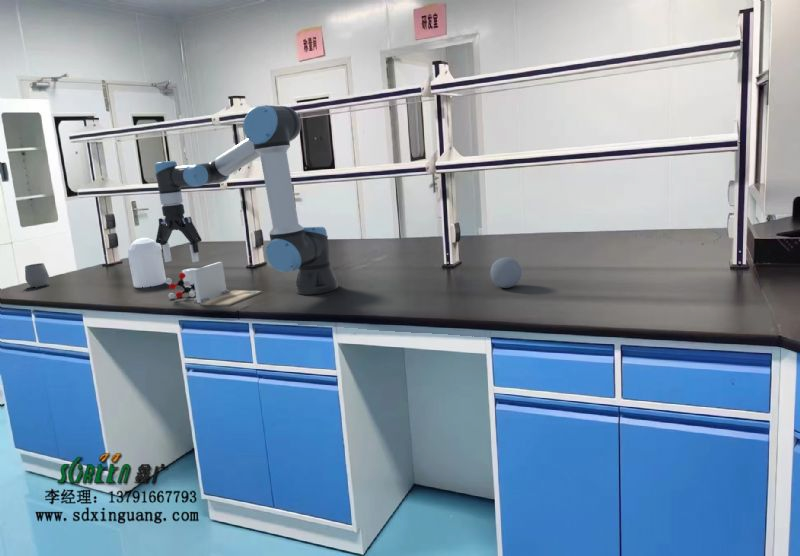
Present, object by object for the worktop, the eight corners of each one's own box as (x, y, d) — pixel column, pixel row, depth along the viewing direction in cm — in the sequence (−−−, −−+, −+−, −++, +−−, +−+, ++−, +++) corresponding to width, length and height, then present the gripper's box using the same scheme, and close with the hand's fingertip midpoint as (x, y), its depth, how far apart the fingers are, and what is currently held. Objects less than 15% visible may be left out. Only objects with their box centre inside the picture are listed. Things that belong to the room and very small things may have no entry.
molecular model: (190, 303, 238) (195, 278, 240) (204, 303, 234) (208, 277, 236) (156, 296, 226) (161, 269, 227) (170, 296, 221) (175, 269, 223)
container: (155, 279, 273) (147, 234, 269) (173, 281, 265) (165, 235, 261) (127, 286, 262) (118, 240, 258) (145, 288, 255) (136, 241, 250)
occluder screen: (230, 293, 231) (225, 261, 228) (204, 303, 219) (198, 270, 216) (220, 292, 233) (215, 261, 230) (193, 302, 221) (188, 270, 218)
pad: (261, 292, 227) (261, 290, 227) (229, 305, 211) (228, 304, 211) (234, 291, 233) (233, 290, 232) (200, 304, 217) (200, 302, 217)
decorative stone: (488, 291, 199) (486, 260, 197) (495, 283, 208) (493, 254, 206) (519, 291, 195) (517, 260, 193) (524, 283, 204) (523, 254, 202)
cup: (42, 283, 289) (37, 262, 287) (55, 283, 285) (50, 262, 282) (22, 288, 280) (18, 267, 278) (35, 289, 276) (30, 267, 274)
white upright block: (204, 287, 245) (201, 268, 244) (193, 291, 240) (190, 271, 239) (192, 287, 248) (189, 268, 246) (181, 291, 243) (178, 271, 241)
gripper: (205, 201, 221) (214, 259, 226) (155, 204, 232) (164, 259, 237) (190, 204, 215) (200, 263, 219) (139, 206, 226) (149, 263, 230)
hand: (181, 261), depth 228 cm, fingers open, 13 cm apart
